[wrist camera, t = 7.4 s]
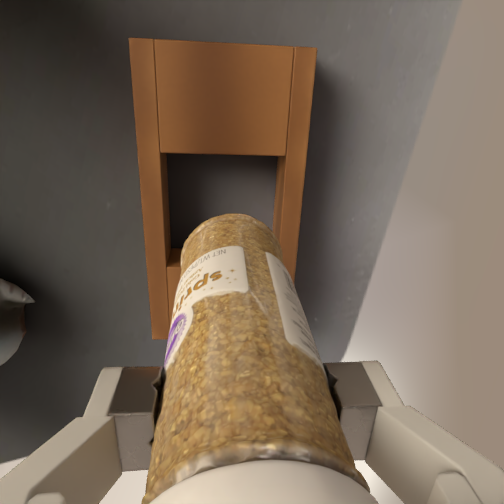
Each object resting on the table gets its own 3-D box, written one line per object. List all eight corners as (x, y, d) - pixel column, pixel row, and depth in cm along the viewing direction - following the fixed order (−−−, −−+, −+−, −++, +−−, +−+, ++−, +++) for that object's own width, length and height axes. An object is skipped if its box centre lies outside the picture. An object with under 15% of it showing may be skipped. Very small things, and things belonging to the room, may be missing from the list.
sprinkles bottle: (183, 206, 16) (81, 620, 4) (290, 215, 17) (490, 602, 4) (178, 299, 18) (99, 776, 6) (275, 305, 19) (386, 750, 6)
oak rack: (305, 50, 22) (318, 47, 20) (282, 312, 30) (289, 337, 27) (139, 42, 21) (128, 37, 19) (158, 314, 29) (152, 339, 26)
